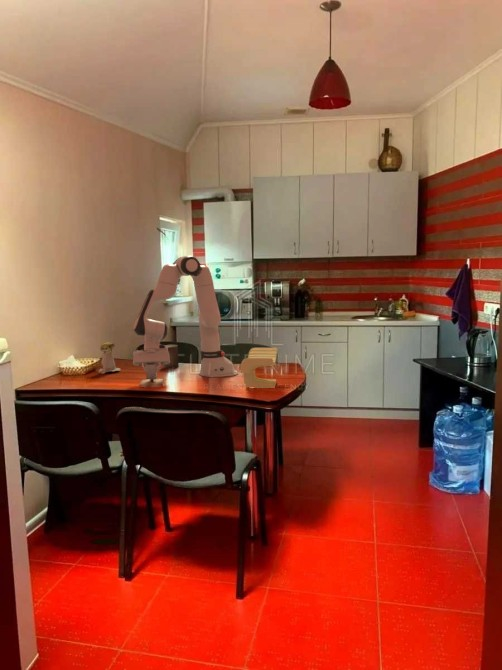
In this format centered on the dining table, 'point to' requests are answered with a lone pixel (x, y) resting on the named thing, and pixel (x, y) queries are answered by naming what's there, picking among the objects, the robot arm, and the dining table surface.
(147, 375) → the grey rectangular block
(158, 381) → the post
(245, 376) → the wooden slatted rack
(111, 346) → the beige sitting figure
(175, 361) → the pillar candle
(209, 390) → the dining table surface
